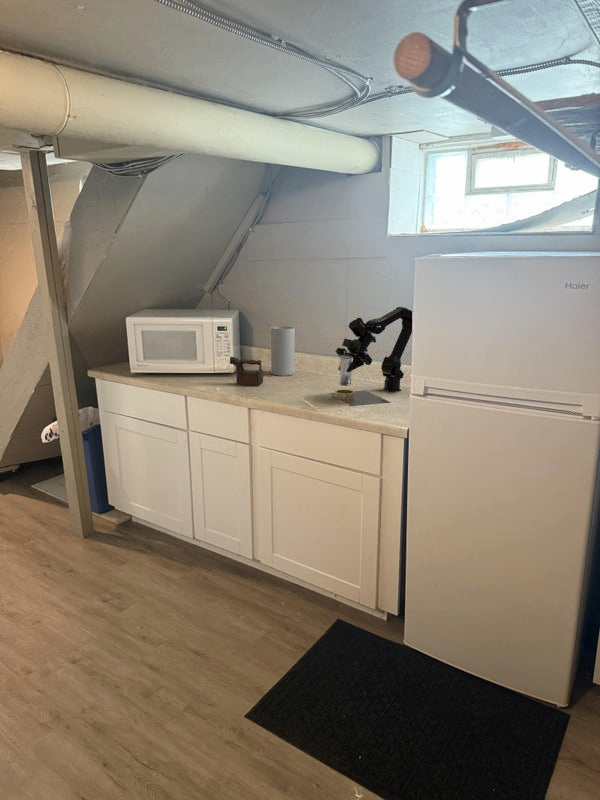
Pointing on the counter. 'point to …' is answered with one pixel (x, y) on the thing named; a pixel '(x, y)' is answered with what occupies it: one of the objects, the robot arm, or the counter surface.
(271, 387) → the counter surface
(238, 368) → the clothes iron
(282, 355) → the cylinder vase
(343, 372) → the grey cylindrical piece
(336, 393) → the base
